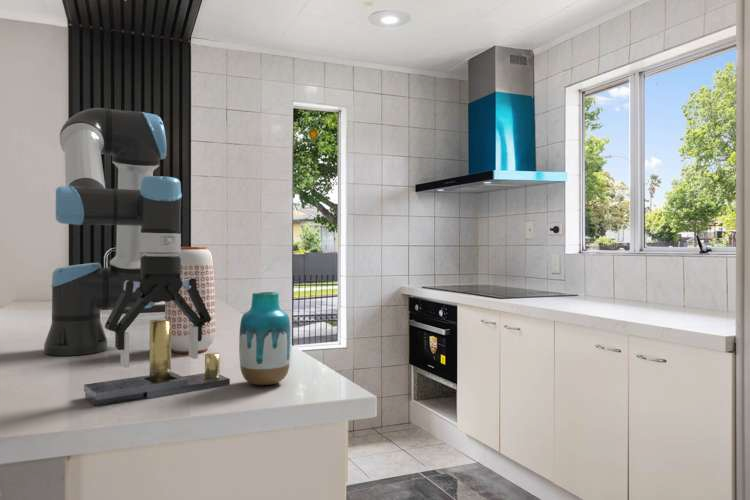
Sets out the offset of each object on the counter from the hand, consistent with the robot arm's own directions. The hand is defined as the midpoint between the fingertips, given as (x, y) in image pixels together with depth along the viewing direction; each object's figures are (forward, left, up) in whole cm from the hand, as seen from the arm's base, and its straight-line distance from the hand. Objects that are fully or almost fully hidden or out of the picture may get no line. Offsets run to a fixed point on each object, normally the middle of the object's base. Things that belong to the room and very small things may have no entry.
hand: (160, 362), depth 115 cm
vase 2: (+8, +19, -6) cm, 21 cm away
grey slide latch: (0, 0, -6) cm, 6 cm away
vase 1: (-37, +22, -6) cm, 43 cm away
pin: (0, 0, -6) cm, 6 cm away
